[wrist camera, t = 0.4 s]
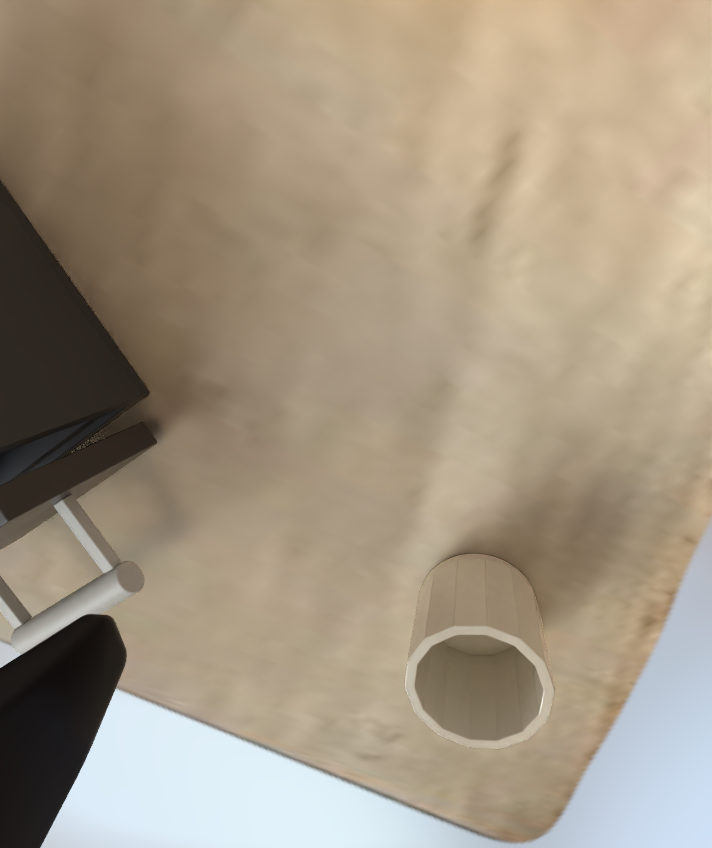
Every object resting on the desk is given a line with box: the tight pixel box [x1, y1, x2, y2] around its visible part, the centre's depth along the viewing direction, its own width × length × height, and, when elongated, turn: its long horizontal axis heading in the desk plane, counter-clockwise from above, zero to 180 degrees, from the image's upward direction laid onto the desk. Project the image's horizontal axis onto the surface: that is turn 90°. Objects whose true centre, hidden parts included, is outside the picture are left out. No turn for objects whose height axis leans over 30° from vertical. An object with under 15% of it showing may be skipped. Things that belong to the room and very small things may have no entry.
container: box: [404, 554, 555, 749], centre depth 23 cm, size 5×6×6 cm
